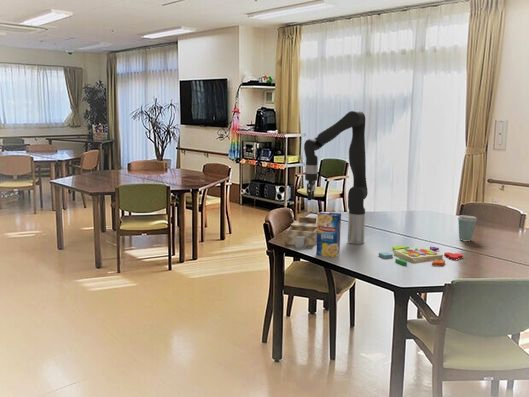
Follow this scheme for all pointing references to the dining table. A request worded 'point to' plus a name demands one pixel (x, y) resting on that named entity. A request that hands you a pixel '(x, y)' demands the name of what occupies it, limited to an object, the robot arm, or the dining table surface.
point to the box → (302, 231)
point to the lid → (305, 222)
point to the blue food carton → (328, 234)
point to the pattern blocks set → (418, 255)
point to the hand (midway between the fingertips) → (310, 199)
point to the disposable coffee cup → (466, 226)
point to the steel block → (300, 242)
